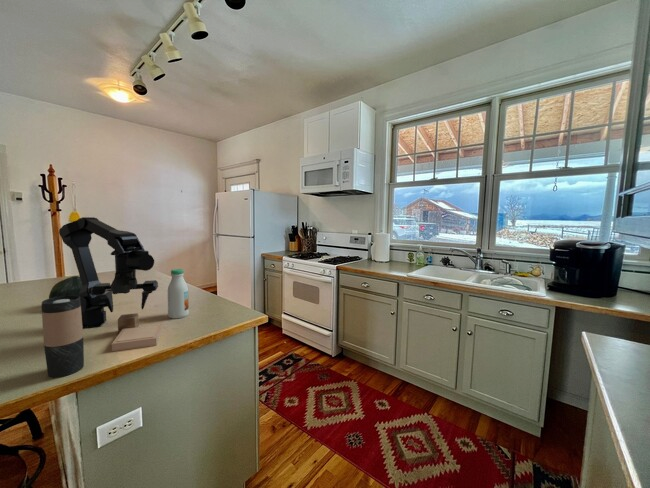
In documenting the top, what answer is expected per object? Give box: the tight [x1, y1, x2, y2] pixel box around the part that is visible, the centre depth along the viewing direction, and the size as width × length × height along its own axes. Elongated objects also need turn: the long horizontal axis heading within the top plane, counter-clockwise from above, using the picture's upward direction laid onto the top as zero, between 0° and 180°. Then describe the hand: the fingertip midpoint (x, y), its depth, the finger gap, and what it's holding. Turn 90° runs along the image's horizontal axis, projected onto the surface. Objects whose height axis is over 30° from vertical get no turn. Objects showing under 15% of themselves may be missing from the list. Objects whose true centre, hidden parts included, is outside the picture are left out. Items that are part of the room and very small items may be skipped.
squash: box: [48, 275, 82, 299], centre depth 122 cm, size 14×15×15 cm
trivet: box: [111, 324, 163, 352], centre depth 92 cm, size 12×12×3 cm
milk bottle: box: [167, 268, 190, 319], centre depth 114 cm, size 8×8×20 cm
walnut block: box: [117, 312, 140, 336], centre depth 98 cm, size 5×5×6 cm
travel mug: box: [41, 296, 85, 379], centre depth 73 cm, size 8×8×20 cm
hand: (127, 310), depth 98 cm, fingers open, 9 cm apart
